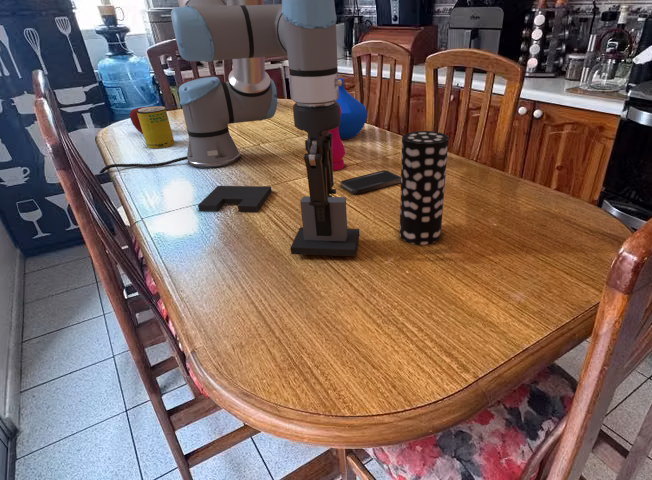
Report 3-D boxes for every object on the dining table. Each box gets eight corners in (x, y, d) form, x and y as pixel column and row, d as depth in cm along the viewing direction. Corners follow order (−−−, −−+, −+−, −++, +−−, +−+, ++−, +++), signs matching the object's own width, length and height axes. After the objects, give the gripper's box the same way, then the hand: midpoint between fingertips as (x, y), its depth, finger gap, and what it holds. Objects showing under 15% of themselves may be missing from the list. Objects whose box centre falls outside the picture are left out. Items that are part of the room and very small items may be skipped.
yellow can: (179, 141, 148) (171, 106, 142) (165, 149, 140) (155, 112, 134) (156, 140, 149) (147, 106, 143) (141, 148, 142) (130, 112, 136)
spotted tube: (396, 226, 88) (398, 132, 78) (435, 224, 89) (442, 130, 79) (403, 246, 81) (406, 144, 71) (445, 243, 82) (454, 142, 71)
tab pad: (291, 254, 77) (285, 208, 72) (304, 225, 87) (299, 182, 82) (355, 256, 76) (353, 209, 71) (361, 226, 86) (360, 183, 81)
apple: (135, 132, 160) (127, 105, 155) (162, 129, 163) (155, 102, 158) (135, 138, 152) (126, 110, 147) (163, 134, 156) (156, 107, 151)
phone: (338, 181, 108) (385, 169, 115) (338, 185, 108) (385, 173, 115) (354, 191, 102) (403, 178, 109) (354, 195, 103) (403, 182, 110)
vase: (376, 132, 152) (376, 76, 142) (348, 146, 139) (346, 85, 129) (336, 126, 161) (333, 73, 151) (305, 138, 147) (300, 81, 138)
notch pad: (199, 211, 97) (197, 205, 96) (218, 191, 107) (217, 185, 107) (257, 212, 96) (256, 206, 95) (271, 191, 106) (271, 186, 105)
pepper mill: (342, 171, 118) (338, 98, 107) (317, 170, 119) (311, 97, 109) (348, 163, 124) (345, 92, 113) (325, 162, 125) (319, 92, 115)
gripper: (331, 113, 60) (339, 253, 72) (345, 92, 73) (349, 213, 85) (280, 113, 60) (296, 251, 72) (303, 92, 73) (313, 212, 86)
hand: (325, 230), depth 79 cm, fingers closed on tab pad, 2 cm apart
